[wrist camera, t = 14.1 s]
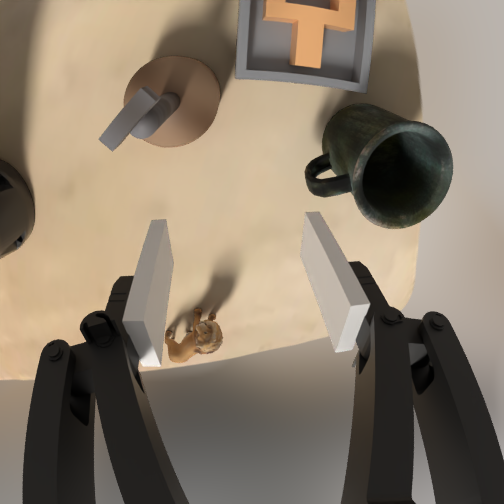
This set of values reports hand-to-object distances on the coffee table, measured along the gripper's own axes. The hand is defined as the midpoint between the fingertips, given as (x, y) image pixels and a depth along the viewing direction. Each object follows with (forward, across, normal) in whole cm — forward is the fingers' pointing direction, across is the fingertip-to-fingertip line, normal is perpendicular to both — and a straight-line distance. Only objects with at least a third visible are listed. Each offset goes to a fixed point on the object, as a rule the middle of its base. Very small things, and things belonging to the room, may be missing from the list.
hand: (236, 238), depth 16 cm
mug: (+21, -15, +1) cm, 26 cm away
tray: (+21, -9, -15) cm, 28 cm away
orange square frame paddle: (+21, -9, -15) cm, 27 cm away
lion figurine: (+22, +7, +30) cm, 38 cm away
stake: (+22, +5, -5) cm, 23 cm away
